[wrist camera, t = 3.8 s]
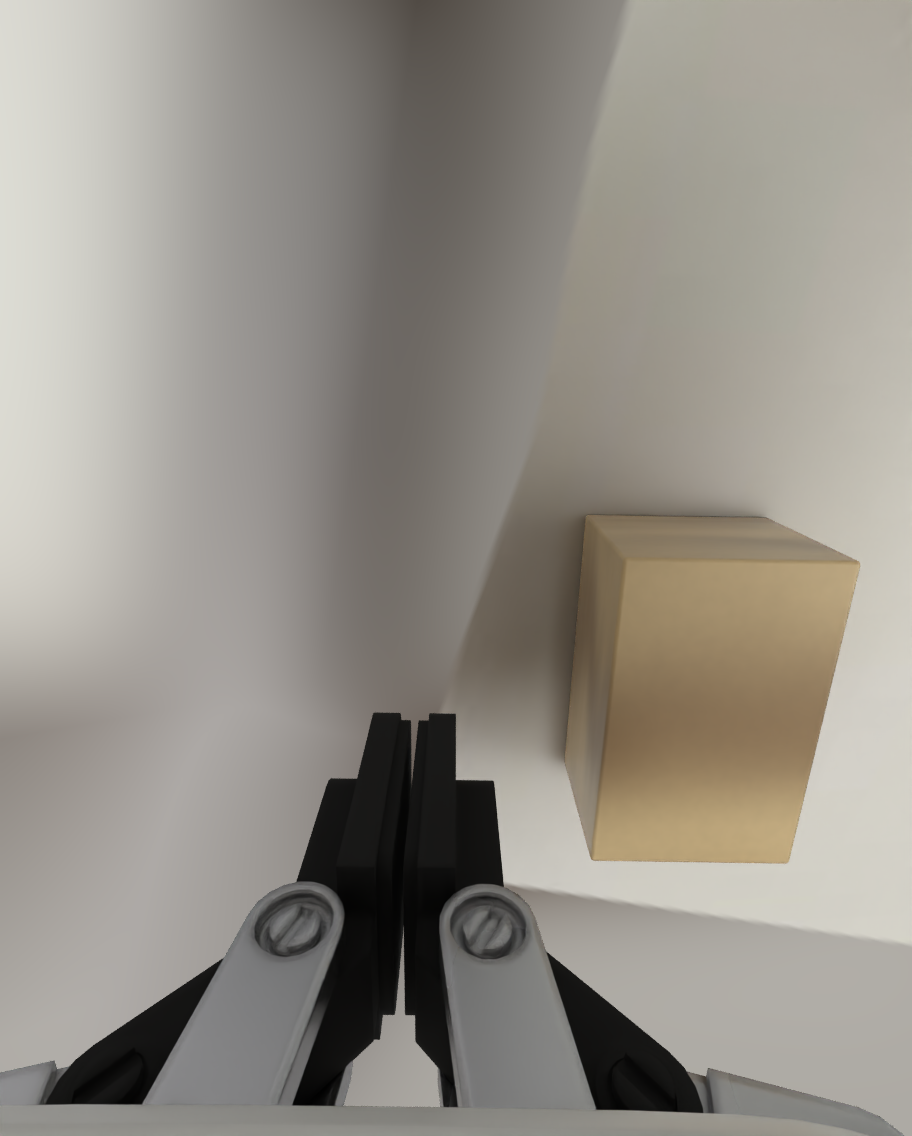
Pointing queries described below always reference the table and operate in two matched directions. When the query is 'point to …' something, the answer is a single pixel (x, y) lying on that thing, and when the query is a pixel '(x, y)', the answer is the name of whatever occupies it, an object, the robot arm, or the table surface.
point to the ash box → (700, 684)
